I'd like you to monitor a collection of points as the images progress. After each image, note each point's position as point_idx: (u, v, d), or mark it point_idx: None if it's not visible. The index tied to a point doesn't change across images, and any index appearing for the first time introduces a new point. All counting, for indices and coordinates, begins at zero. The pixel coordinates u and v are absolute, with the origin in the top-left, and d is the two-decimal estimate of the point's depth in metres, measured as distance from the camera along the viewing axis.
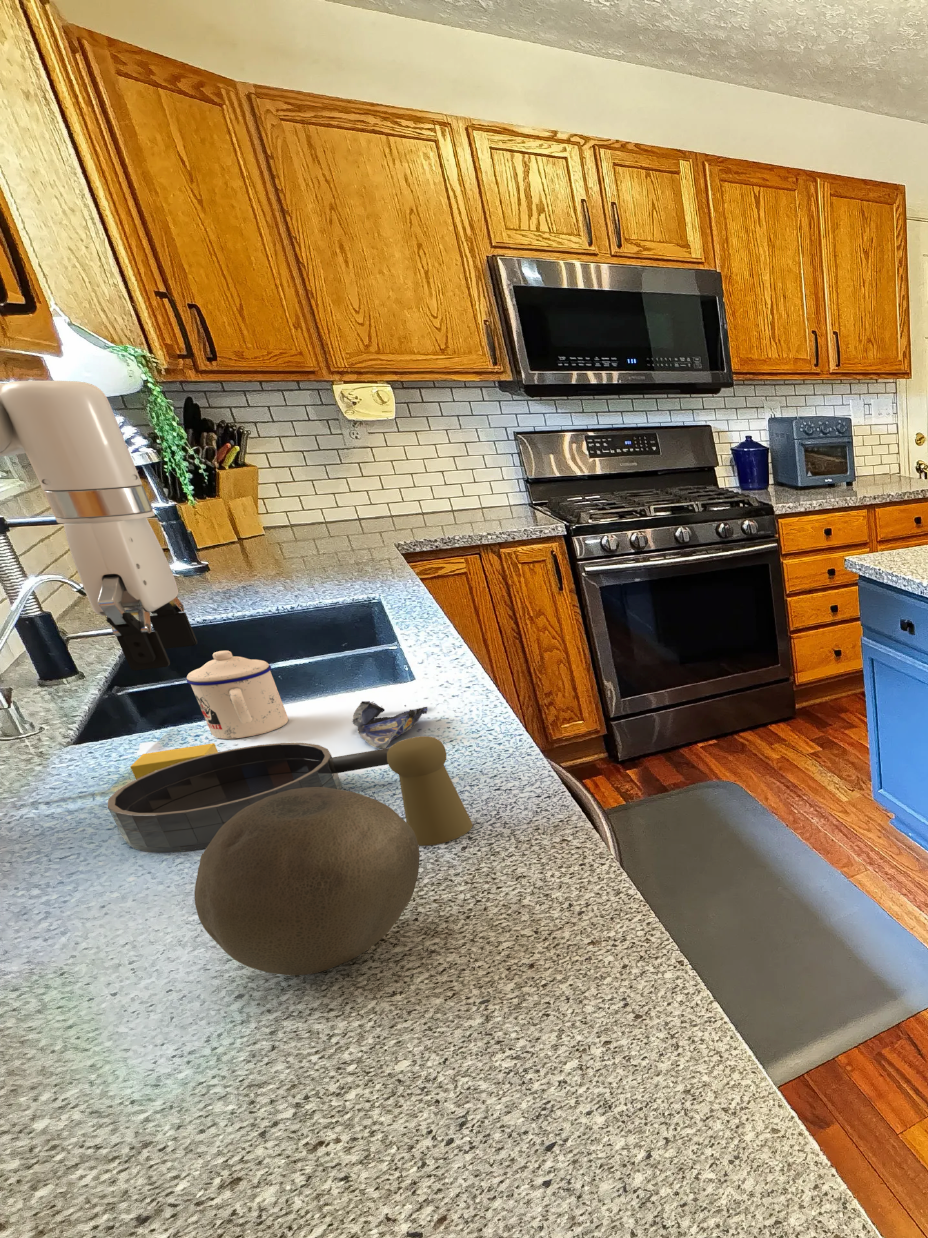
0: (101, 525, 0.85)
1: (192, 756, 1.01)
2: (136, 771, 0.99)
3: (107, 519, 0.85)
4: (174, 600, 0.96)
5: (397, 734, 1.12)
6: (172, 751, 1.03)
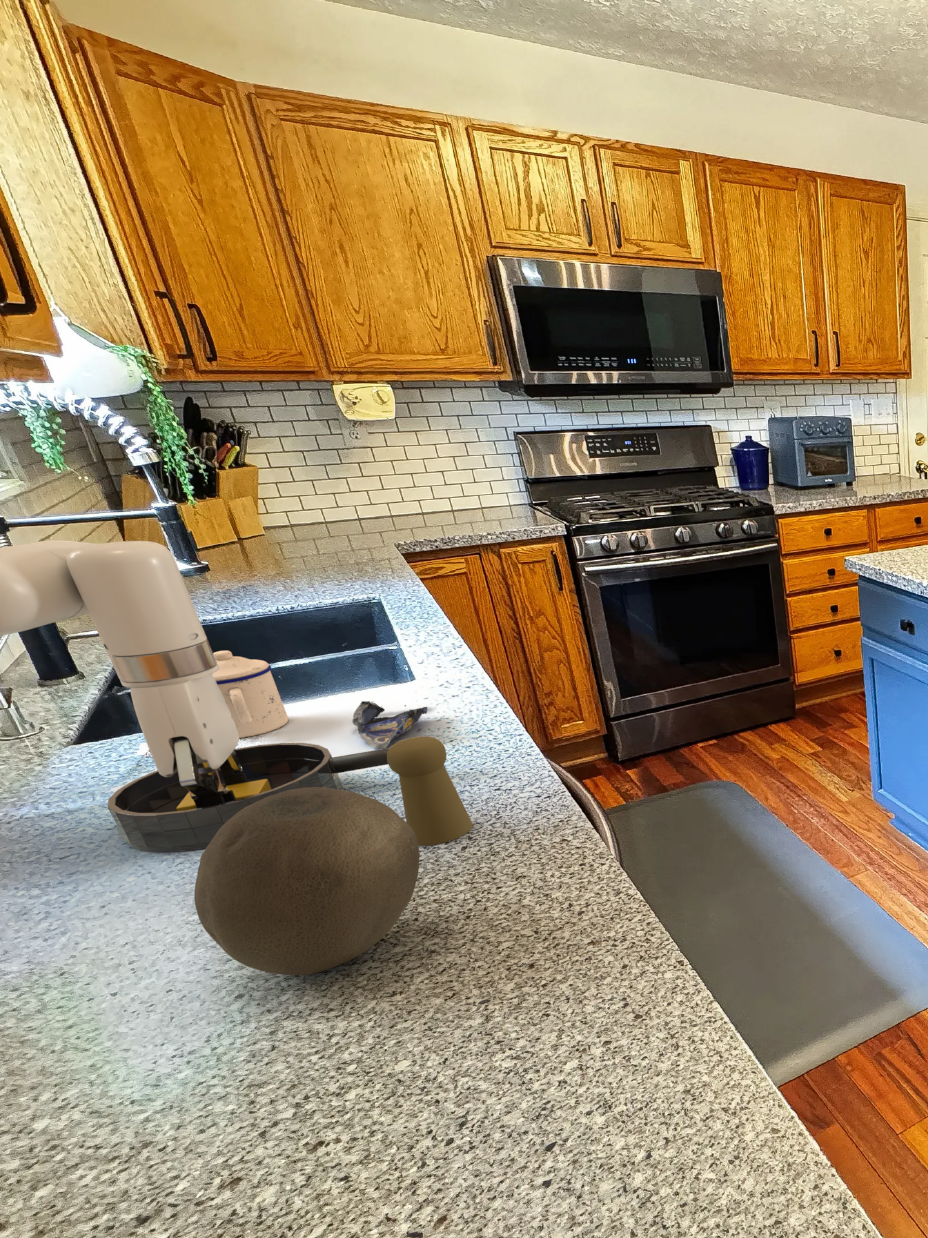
0: (168, 688, 0.82)
1: (245, 795, 0.90)
2: None
3: (174, 681, 0.82)
4: (233, 757, 0.92)
5: (397, 734, 1.12)
6: None
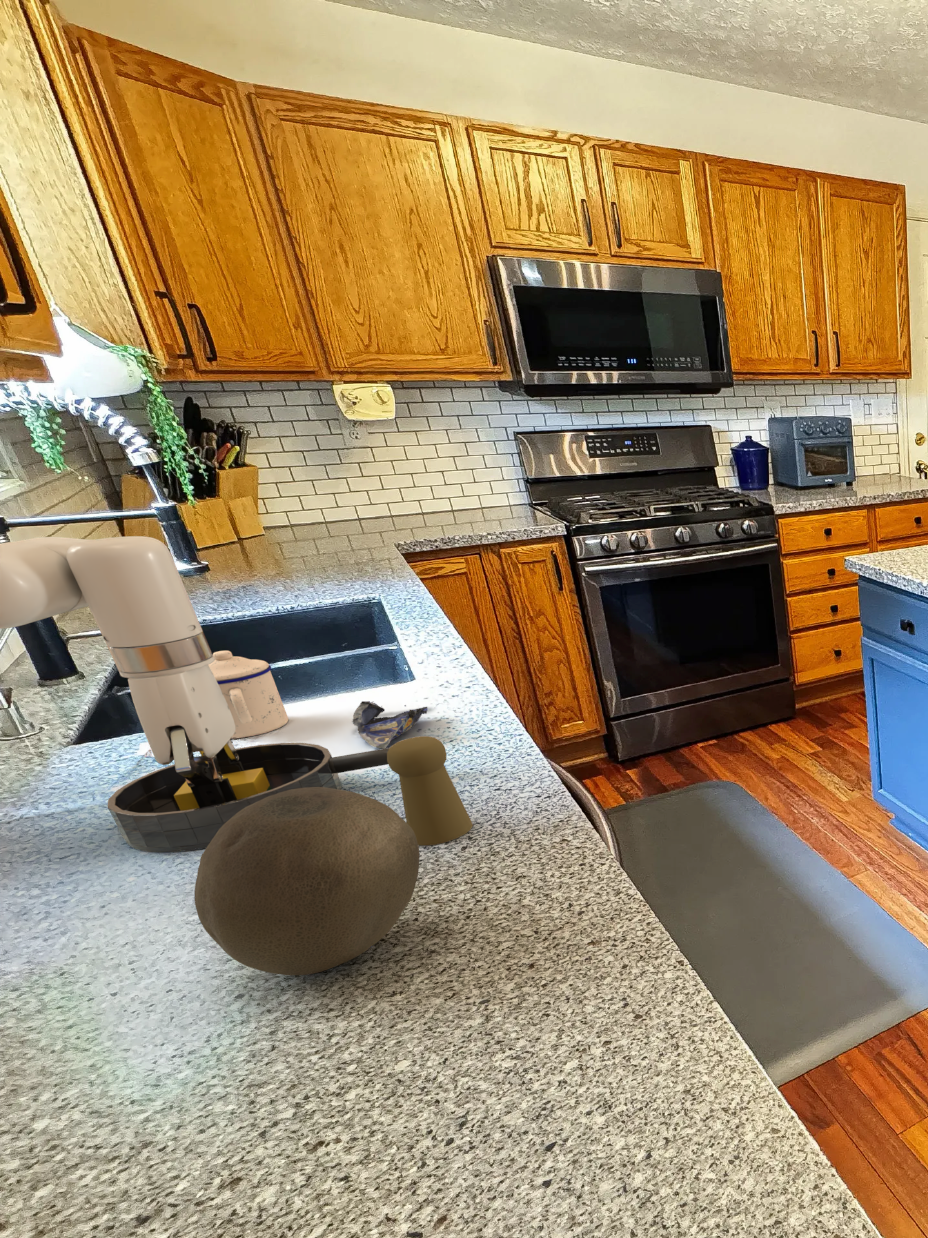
0: (164, 678, 0.85)
1: (240, 783, 0.93)
2: (180, 800, 0.90)
3: (170, 672, 0.85)
4: (229, 746, 0.95)
5: (397, 734, 1.12)
6: None
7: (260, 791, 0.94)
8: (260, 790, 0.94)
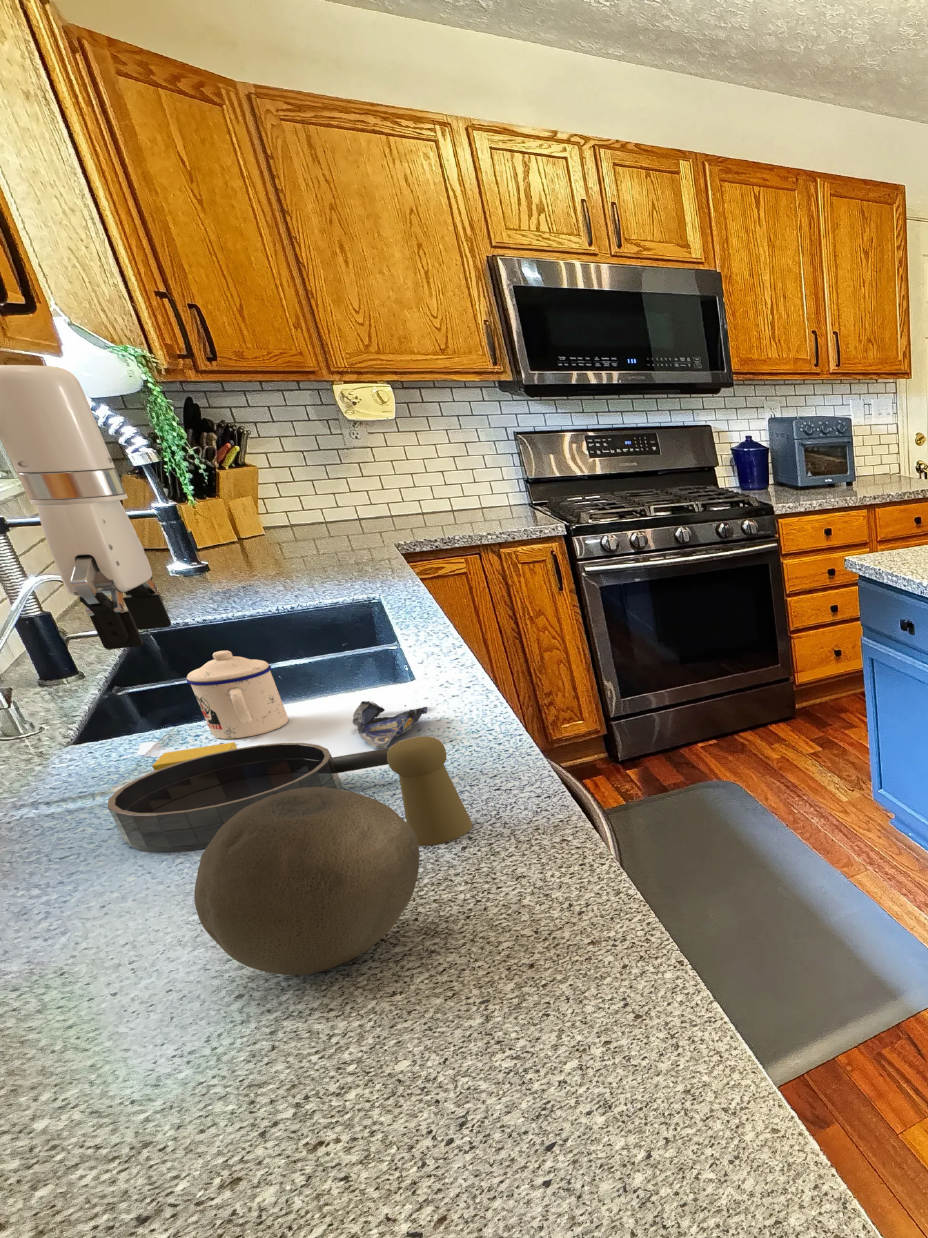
0: (73, 506, 0.87)
1: None
2: None
3: (80, 501, 0.87)
4: (148, 582, 0.98)
5: (397, 734, 1.12)
6: (193, 750, 1.03)
7: None
8: None
